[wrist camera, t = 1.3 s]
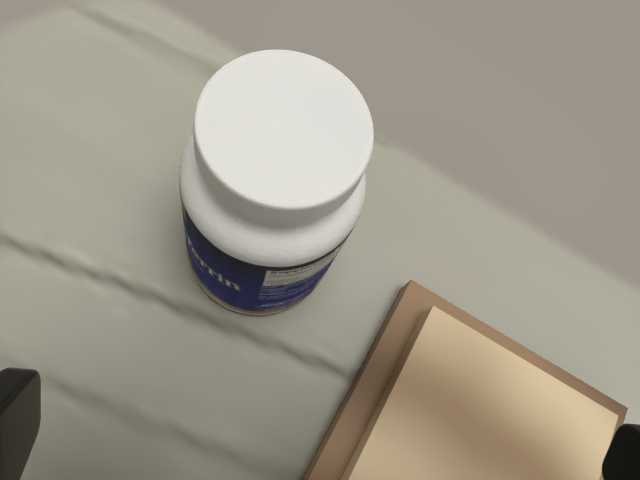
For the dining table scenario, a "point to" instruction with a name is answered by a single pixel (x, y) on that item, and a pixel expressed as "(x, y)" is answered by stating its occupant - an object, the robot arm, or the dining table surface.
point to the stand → (462, 406)
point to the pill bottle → (272, 178)
